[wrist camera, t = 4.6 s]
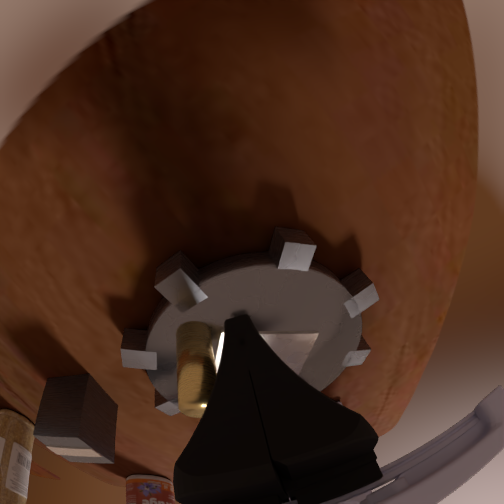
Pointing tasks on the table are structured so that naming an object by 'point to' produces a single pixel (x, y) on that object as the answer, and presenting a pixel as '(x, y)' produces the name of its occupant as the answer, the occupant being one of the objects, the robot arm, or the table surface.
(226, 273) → the sprocket
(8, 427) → the sprinkles bottle
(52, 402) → the grooved silver cube
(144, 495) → the pill bottle
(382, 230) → the table surface
